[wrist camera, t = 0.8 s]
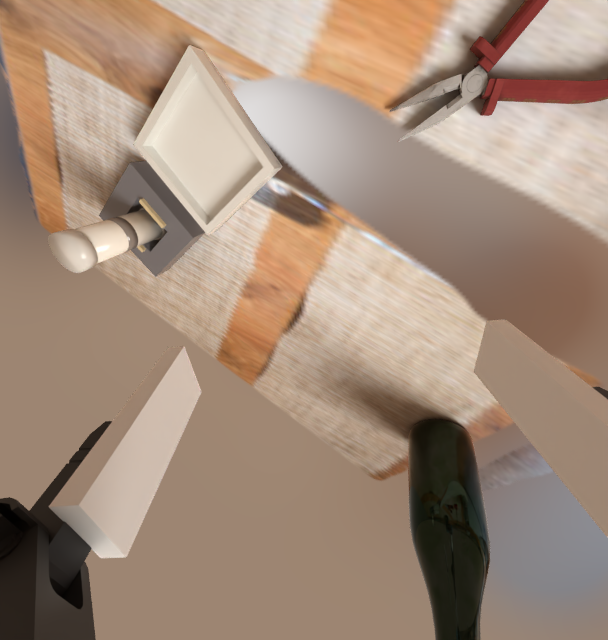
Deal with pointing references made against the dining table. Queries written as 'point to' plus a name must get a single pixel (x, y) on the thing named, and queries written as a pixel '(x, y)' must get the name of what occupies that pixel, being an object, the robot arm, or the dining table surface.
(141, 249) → the fuse socket
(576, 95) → the pliers
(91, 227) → the cylinder
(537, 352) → the robot arm
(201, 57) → the parts tray
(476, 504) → the dark green wine bottle
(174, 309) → the dining table surface
